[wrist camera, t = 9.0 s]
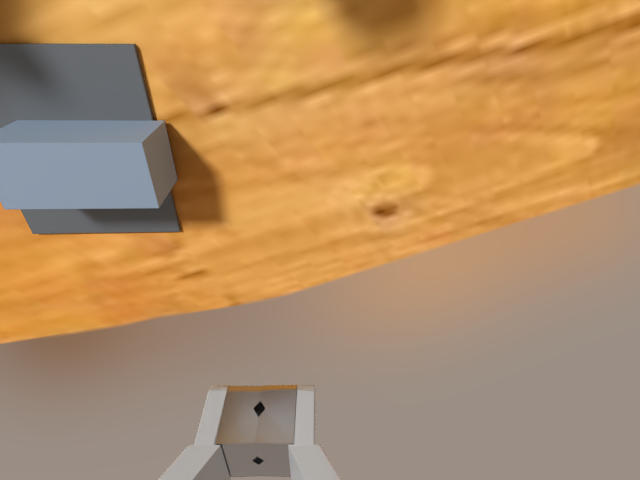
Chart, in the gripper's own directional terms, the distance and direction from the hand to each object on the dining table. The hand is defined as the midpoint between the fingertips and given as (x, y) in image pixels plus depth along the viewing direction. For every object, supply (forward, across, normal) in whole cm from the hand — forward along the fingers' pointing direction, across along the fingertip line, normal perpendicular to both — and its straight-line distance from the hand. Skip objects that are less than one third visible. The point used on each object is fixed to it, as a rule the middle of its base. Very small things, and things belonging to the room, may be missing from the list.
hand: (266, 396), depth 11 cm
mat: (+20, +16, 0) cm, 26 cm away
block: (+18, +9, 0) cm, 20 cm away
